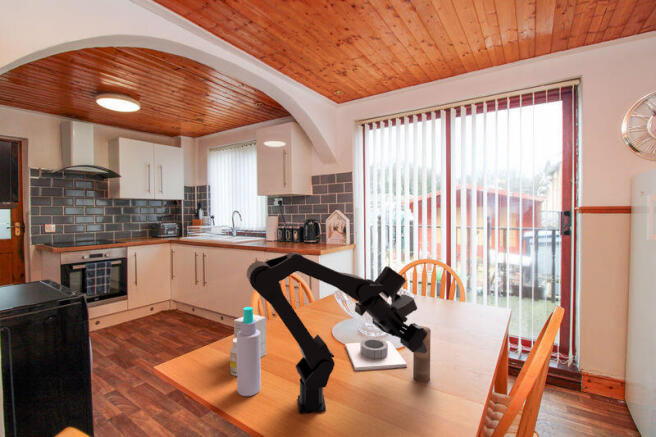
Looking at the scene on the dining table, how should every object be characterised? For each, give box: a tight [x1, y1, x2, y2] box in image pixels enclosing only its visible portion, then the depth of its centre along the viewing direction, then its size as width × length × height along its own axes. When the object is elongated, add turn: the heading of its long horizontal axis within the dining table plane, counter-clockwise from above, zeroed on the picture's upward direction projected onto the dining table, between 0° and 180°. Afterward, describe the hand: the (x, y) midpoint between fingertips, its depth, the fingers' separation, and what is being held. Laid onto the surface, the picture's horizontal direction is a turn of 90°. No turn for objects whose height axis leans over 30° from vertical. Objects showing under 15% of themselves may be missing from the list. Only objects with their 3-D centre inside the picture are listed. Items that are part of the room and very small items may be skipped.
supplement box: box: [233, 313, 267, 358], centre depth 99 cm, size 7×7×13 cm
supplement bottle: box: [229, 338, 237, 377], centre depth 90 cm, size 5×5×10 cm
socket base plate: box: [345, 337, 408, 371], centre depth 100 cm, size 16×16×4 cm
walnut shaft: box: [412, 325, 432, 383], centre depth 87 cm, size 5×5×14 cm
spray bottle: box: [236, 306, 262, 397], centre depth 81 cm, size 6×6×22 cm
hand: (415, 344), depth 86 cm, fingers open, 9 cm apart
